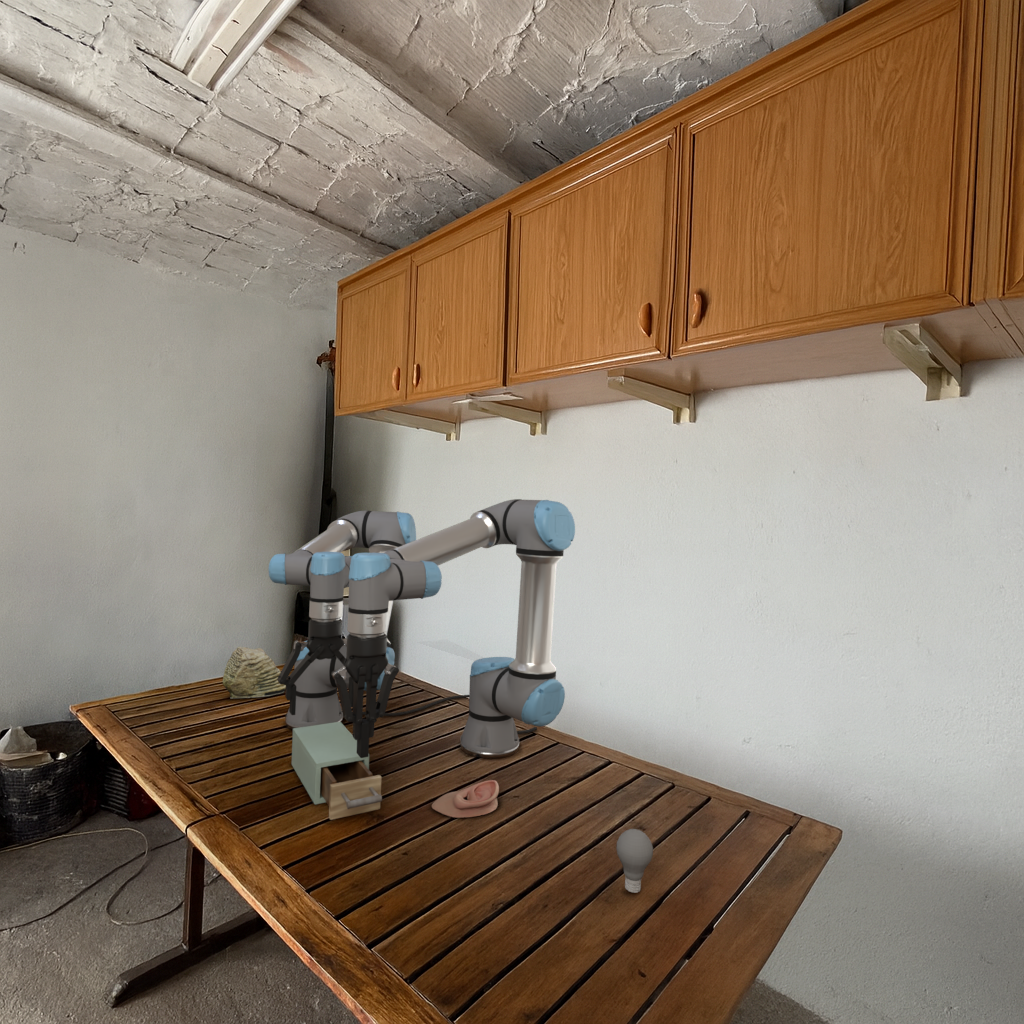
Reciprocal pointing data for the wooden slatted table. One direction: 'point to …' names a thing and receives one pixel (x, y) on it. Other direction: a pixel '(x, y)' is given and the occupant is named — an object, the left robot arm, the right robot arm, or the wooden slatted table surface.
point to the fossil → (251, 674)
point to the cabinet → (321, 753)
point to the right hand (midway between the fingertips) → (362, 754)
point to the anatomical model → (469, 800)
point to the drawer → (350, 789)
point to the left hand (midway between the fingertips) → (322, 709)
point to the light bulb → (634, 857)
